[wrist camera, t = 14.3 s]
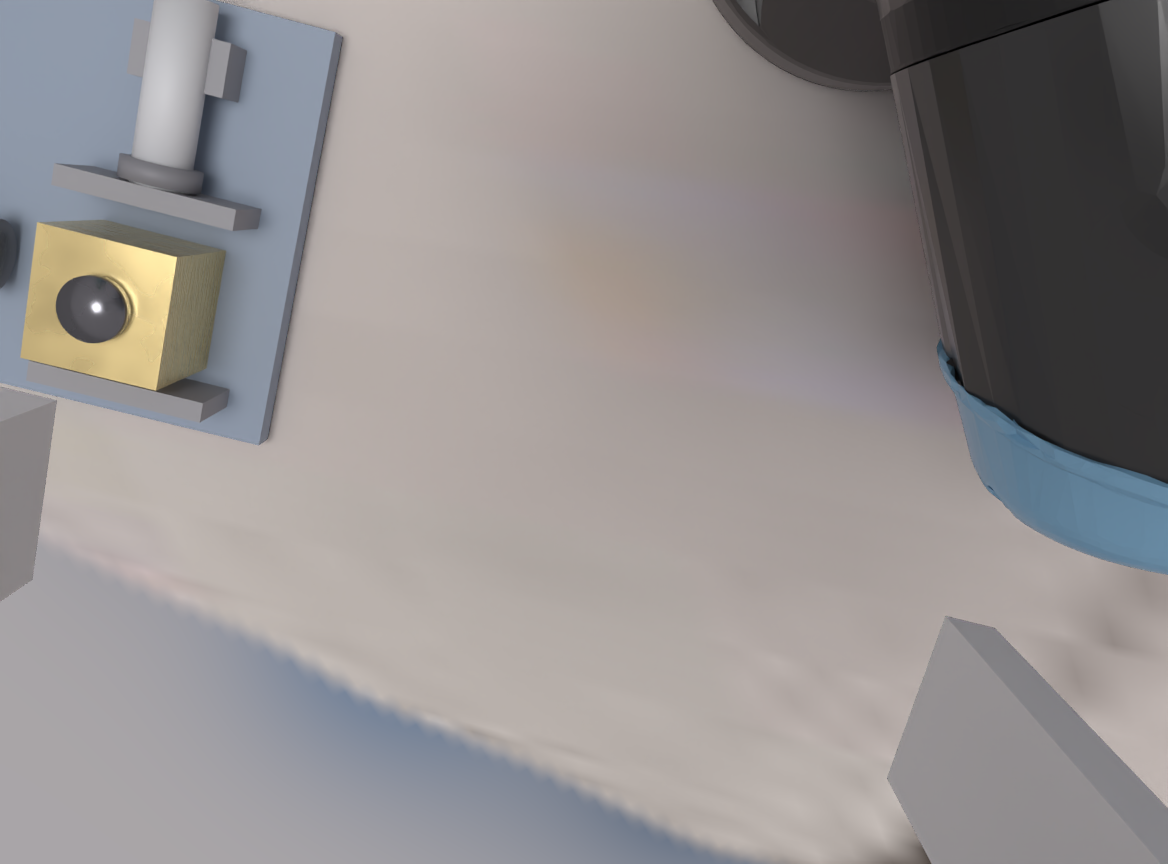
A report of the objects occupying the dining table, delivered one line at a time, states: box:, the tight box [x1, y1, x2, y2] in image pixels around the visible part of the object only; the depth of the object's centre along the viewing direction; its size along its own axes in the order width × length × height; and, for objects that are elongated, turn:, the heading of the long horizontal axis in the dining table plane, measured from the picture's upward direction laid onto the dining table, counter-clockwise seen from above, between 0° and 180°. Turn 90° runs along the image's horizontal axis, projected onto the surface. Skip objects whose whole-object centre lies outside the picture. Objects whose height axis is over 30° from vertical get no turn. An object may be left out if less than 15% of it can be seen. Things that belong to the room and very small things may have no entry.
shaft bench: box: [0, 0, 343, 445], centre depth 39 cm, size 17×16×4 cm
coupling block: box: [20, 220, 226, 391], centre depth 38 cm, size 5×5×6 cm
